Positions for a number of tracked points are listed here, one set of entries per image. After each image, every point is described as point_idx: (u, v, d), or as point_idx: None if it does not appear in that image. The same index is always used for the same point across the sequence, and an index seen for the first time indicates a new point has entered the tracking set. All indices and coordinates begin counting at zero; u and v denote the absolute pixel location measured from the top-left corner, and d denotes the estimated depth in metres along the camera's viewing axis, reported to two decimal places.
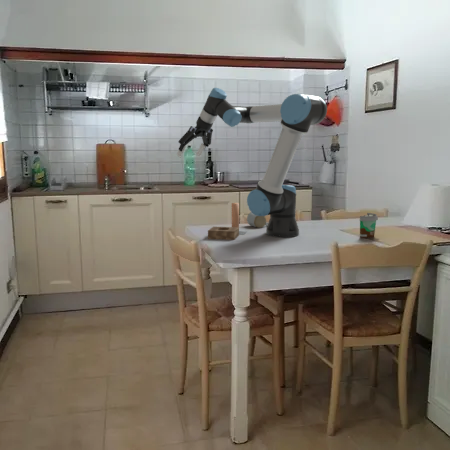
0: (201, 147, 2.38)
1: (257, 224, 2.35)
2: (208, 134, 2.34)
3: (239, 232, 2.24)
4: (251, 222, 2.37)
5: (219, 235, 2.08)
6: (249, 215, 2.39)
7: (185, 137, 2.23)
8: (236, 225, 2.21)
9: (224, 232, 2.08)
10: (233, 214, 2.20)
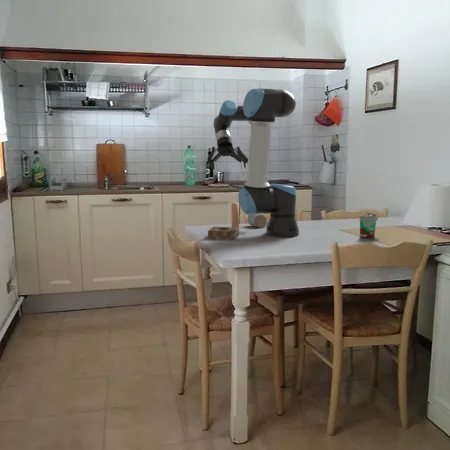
0: (241, 166, 2.31)
1: (258, 224, 2.35)
2: (239, 153, 2.35)
3: (239, 232, 2.24)
4: (252, 222, 2.37)
5: (219, 235, 2.08)
6: (250, 215, 2.40)
7: None
8: (236, 225, 2.21)
9: (224, 232, 2.08)
10: (233, 214, 2.20)
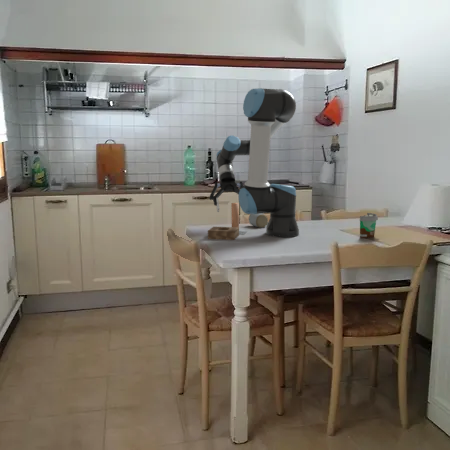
0: None
1: (259, 224, 2.36)
2: (241, 188, 2.33)
3: (239, 232, 2.24)
4: (253, 222, 2.38)
5: (219, 235, 2.08)
6: (251, 215, 2.40)
7: (212, 191, 2.29)
8: (236, 225, 2.21)
9: (224, 232, 2.08)
10: (233, 214, 2.20)
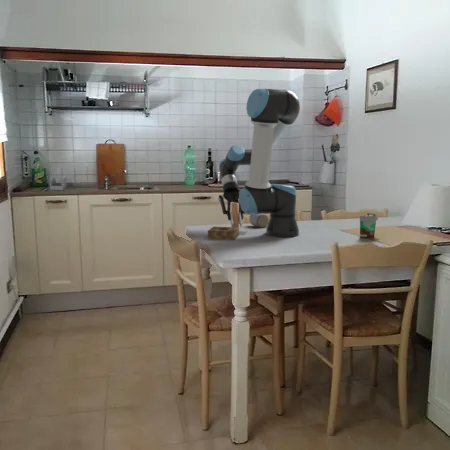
0: None
1: (260, 224, 2.36)
2: None
3: (239, 232, 2.24)
4: (254, 222, 2.38)
5: (219, 235, 2.08)
6: (252, 215, 2.40)
7: (222, 205, 2.24)
8: (236, 225, 2.21)
9: (224, 232, 2.08)
10: (233, 214, 2.20)
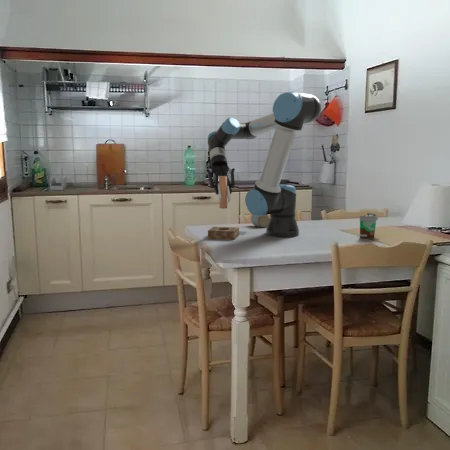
0: (227, 191, 2.10)
1: (261, 224, 2.36)
2: None
3: (239, 232, 2.24)
4: (255, 222, 2.38)
5: (219, 235, 2.08)
6: (253, 215, 2.40)
7: (209, 179, 2.12)
8: (224, 200, 2.09)
9: (224, 232, 2.08)
10: (221, 188, 2.08)
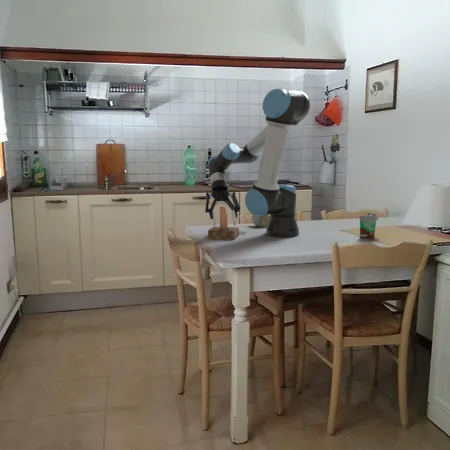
0: (232, 215, 2.12)
1: (262, 224, 2.36)
2: (233, 199, 2.17)
3: (239, 232, 2.24)
4: (256, 222, 2.38)
5: (219, 235, 2.08)
6: (254, 215, 2.41)
7: (206, 203, 2.14)
8: None
9: (224, 232, 2.08)
10: (221, 218, 2.10)
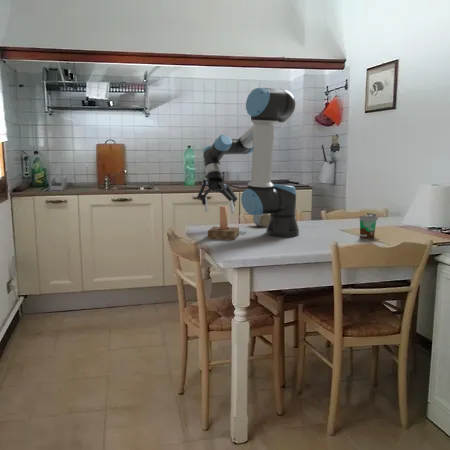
0: (230, 204, 2.29)
1: (263, 223, 2.37)
2: (228, 190, 2.33)
3: (239, 232, 2.24)
4: (257, 221, 2.39)
5: (219, 235, 2.08)
6: None
7: (200, 189, 2.25)
8: None
9: (224, 232, 2.08)
10: (221, 218, 2.10)
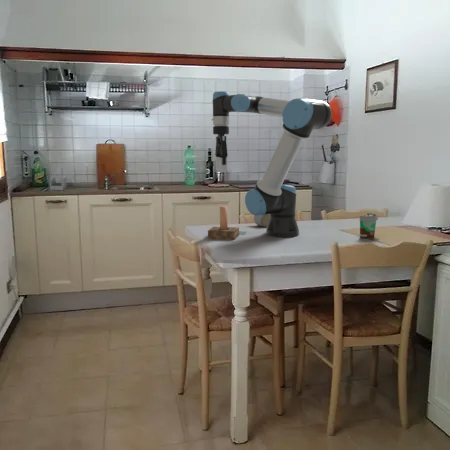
0: (218, 160, 2.31)
1: (264, 223, 2.37)
2: None
3: (239, 232, 2.24)
4: (258, 221, 2.39)
5: (219, 235, 2.08)
6: None
7: (225, 147, 2.16)
8: None
9: (224, 232, 2.08)
10: (221, 218, 2.10)
